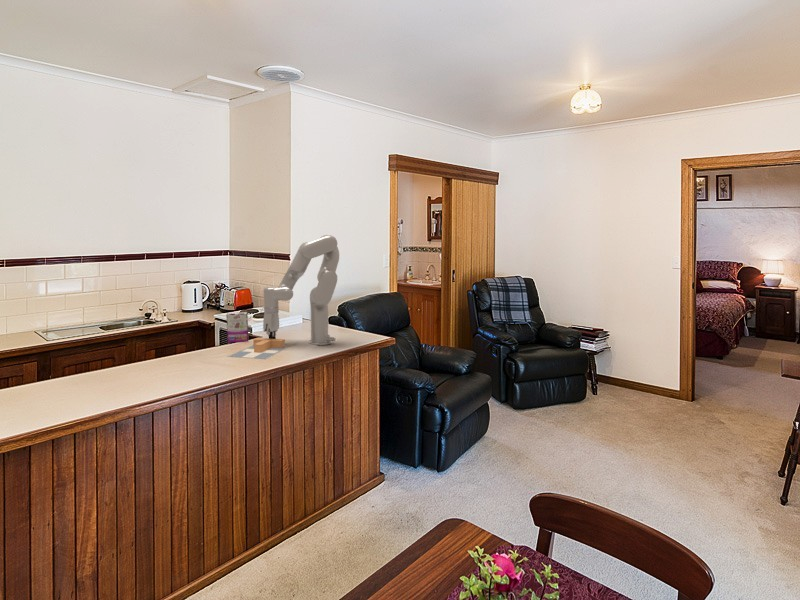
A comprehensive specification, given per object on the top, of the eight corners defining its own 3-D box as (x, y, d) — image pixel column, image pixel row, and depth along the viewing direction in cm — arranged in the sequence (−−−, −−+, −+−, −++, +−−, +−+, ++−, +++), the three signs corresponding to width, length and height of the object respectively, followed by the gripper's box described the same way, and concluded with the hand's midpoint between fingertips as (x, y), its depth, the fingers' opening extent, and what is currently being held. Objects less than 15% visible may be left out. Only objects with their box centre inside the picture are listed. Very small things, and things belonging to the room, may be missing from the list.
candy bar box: (248, 340, 293) (247, 311, 291) (248, 342, 288) (247, 313, 286) (227, 341, 290) (226, 312, 288) (227, 343, 285) (226, 313, 283)
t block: (284, 346, 276) (284, 339, 276) (272, 353, 262) (272, 345, 261) (257, 345, 280) (256, 337, 279) (243, 351, 265) (243, 343, 264)
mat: (290, 346, 279) (290, 345, 279) (265, 360, 250) (265, 359, 250) (256, 344, 283) (256, 343, 283) (227, 357, 254) (227, 356, 254)
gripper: (271, 307, 285) (272, 340, 288) (258, 311, 271) (259, 346, 273) (284, 308, 284) (285, 341, 286) (271, 312, 269) (272, 347, 272)
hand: (272, 343), depth 280 cm, fingers closed
